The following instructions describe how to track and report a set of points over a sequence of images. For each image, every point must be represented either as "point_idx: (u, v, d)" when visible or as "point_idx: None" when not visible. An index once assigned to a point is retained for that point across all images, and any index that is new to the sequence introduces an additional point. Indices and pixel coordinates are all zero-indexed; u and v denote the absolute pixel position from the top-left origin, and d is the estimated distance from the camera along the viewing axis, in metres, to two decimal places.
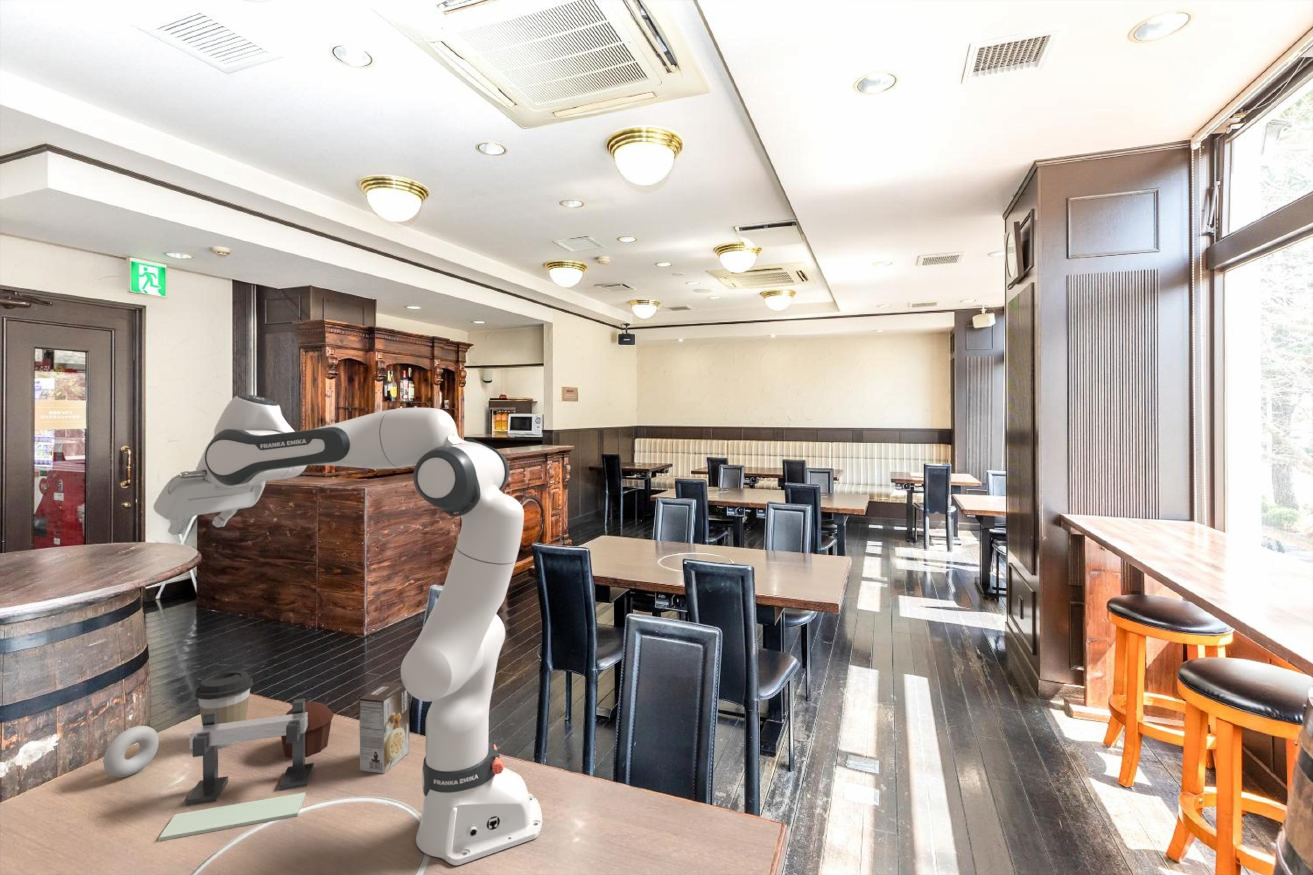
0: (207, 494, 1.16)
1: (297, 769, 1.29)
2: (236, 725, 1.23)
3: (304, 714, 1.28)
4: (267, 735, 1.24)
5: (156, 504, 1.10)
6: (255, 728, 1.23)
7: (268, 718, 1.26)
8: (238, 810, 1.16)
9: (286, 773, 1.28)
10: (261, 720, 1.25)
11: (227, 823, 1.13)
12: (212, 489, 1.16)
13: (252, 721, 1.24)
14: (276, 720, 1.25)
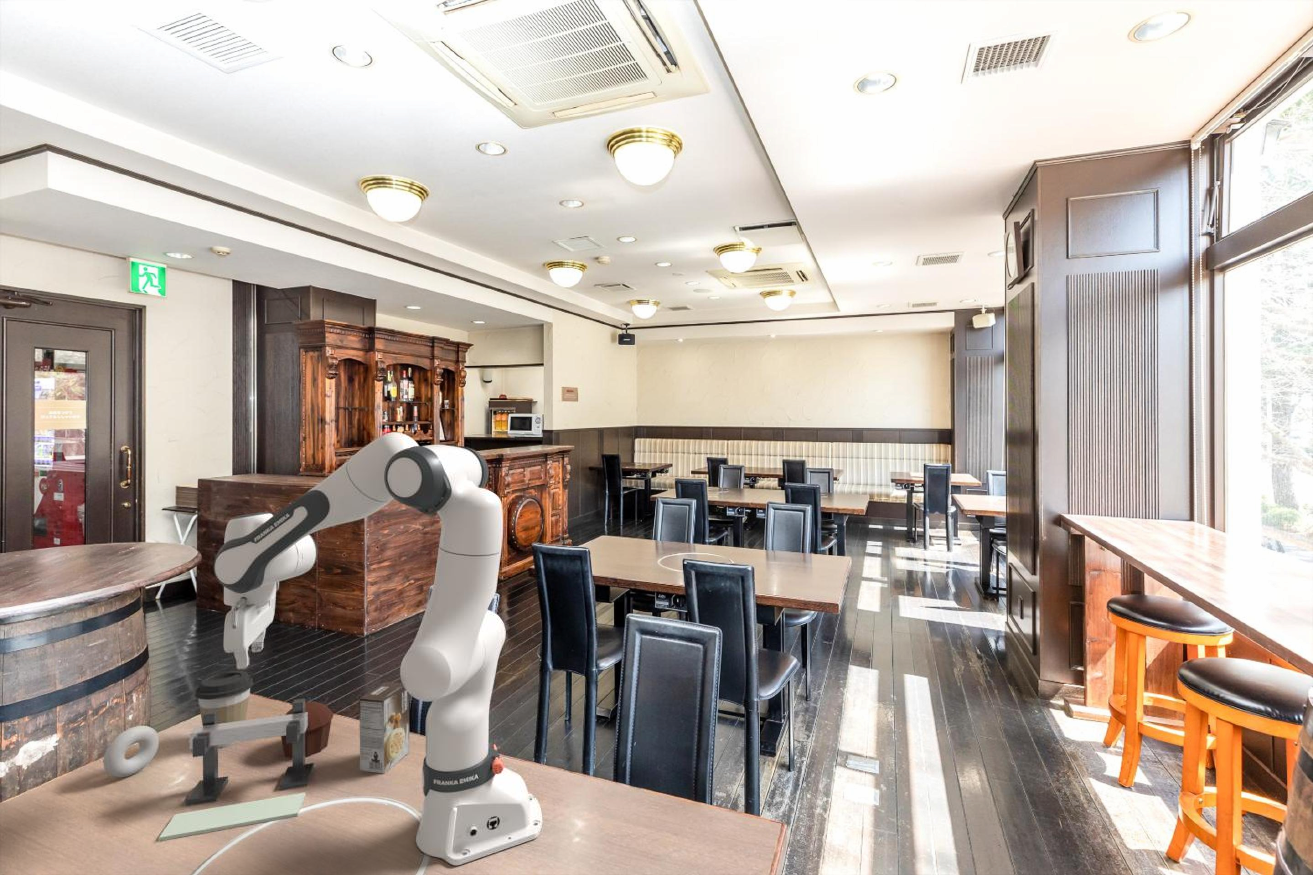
0: (254, 617, 1.21)
1: (297, 769, 1.29)
2: (236, 725, 1.23)
3: (304, 714, 1.28)
4: (267, 735, 1.24)
5: (227, 644, 1.14)
6: (255, 728, 1.23)
7: (268, 718, 1.26)
8: (238, 810, 1.16)
9: (286, 773, 1.28)
10: (261, 720, 1.25)
11: (227, 823, 1.13)
12: (256, 611, 1.22)
13: (252, 721, 1.24)
14: (276, 720, 1.25)
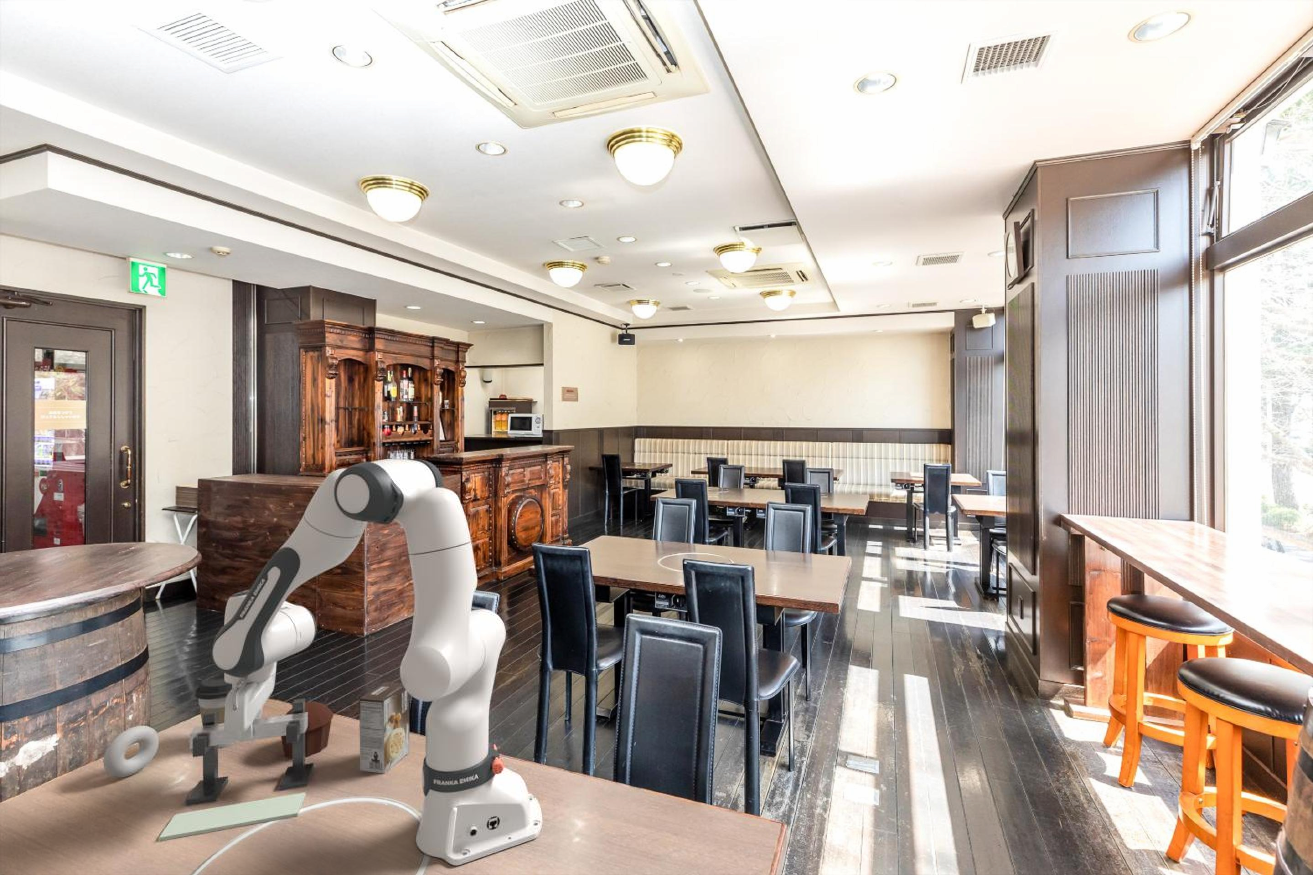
0: (254, 694, 1.21)
1: (297, 769, 1.29)
2: None
3: (304, 714, 1.28)
4: (267, 735, 1.24)
5: (227, 726, 1.14)
6: (255, 728, 1.23)
7: (268, 718, 1.26)
8: (238, 810, 1.16)
9: (286, 773, 1.28)
10: (261, 720, 1.25)
11: (227, 823, 1.13)
12: (256, 687, 1.22)
13: None
14: (276, 720, 1.25)
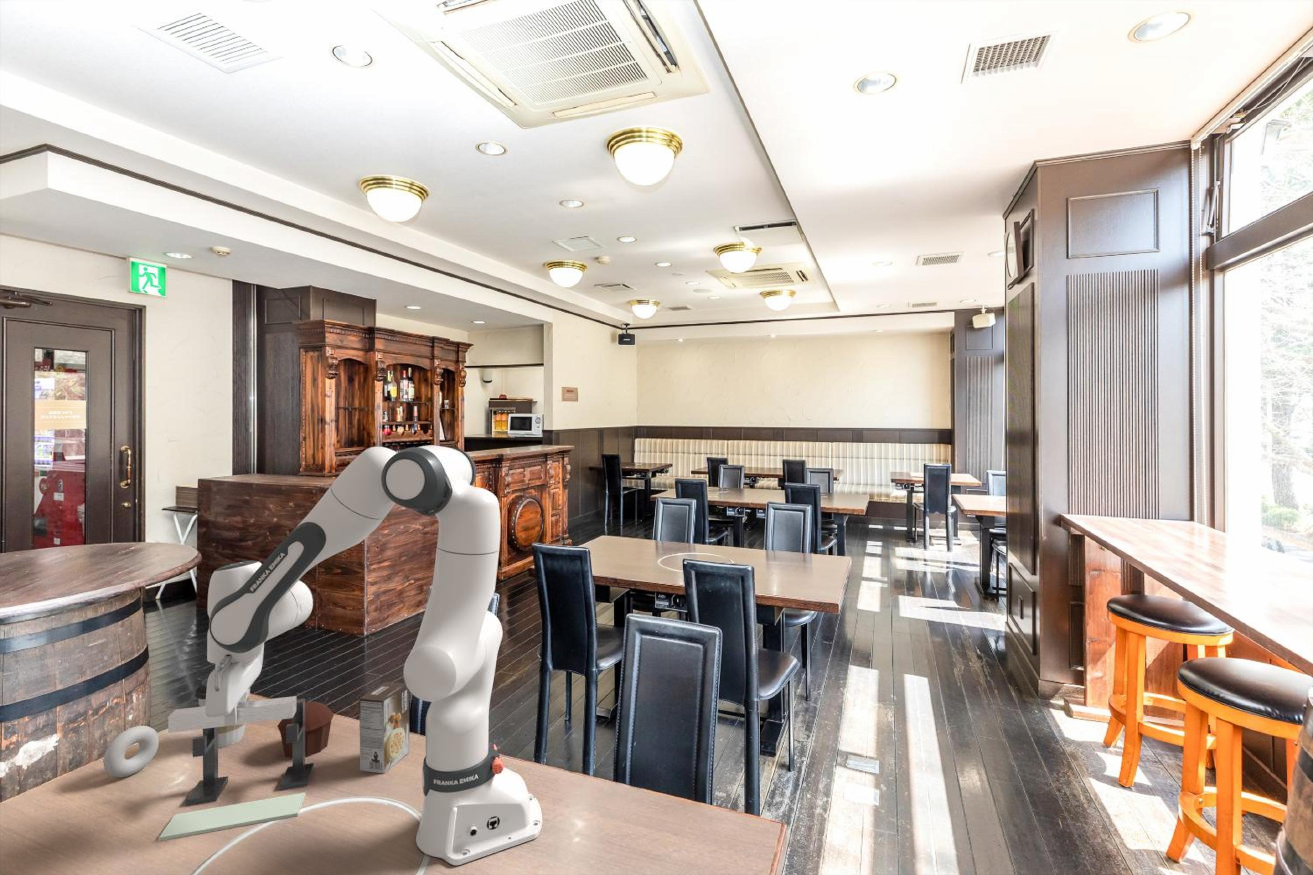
0: (239, 675, 1.13)
1: (297, 769, 1.29)
2: None
3: (292, 698, 1.19)
4: (252, 720, 1.15)
5: (209, 708, 1.06)
6: (239, 712, 1.14)
7: (254, 702, 1.17)
8: (238, 810, 1.16)
9: (286, 773, 1.28)
10: (246, 704, 1.16)
11: (227, 823, 1.13)
12: (241, 668, 1.13)
13: None
14: (262, 704, 1.16)
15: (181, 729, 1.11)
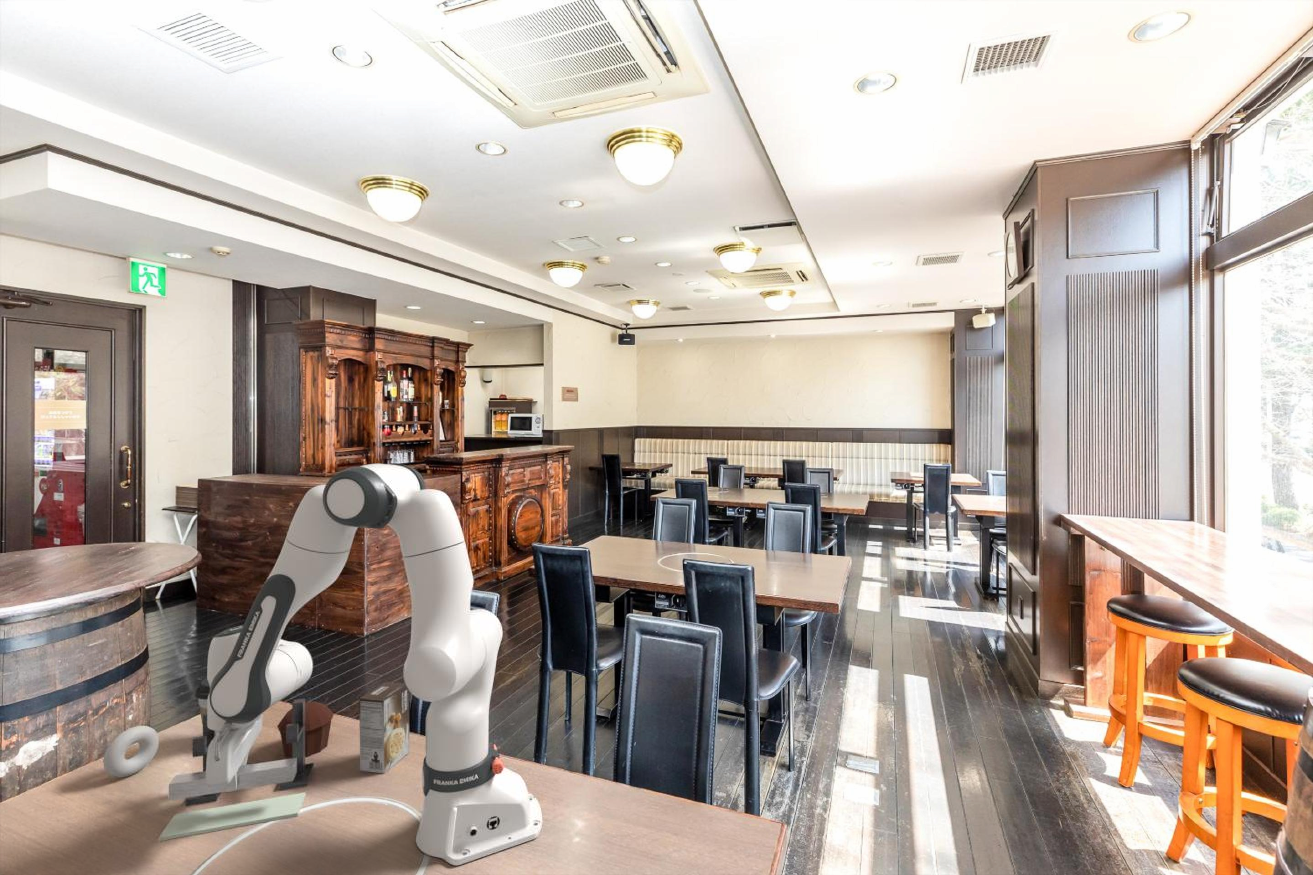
0: (239, 741, 1.13)
1: (297, 769, 1.29)
2: None
3: (293, 760, 1.19)
4: (252, 784, 1.15)
5: (209, 778, 1.06)
6: (239, 777, 1.14)
7: (254, 765, 1.17)
8: (238, 810, 1.16)
9: None
10: (246, 767, 1.16)
11: (227, 823, 1.13)
12: (241, 733, 1.13)
13: None
14: (262, 767, 1.16)
15: (181, 796, 1.12)
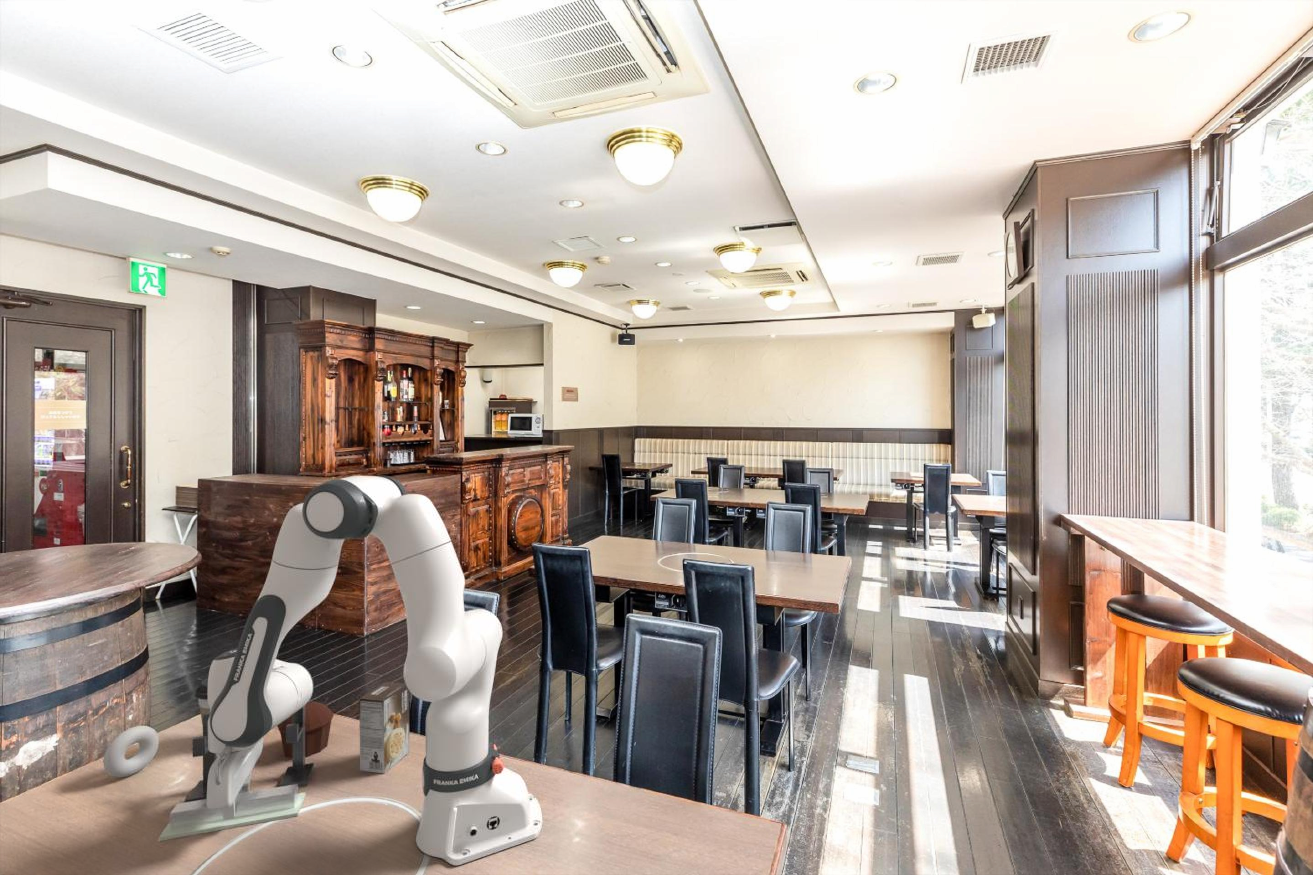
0: (240, 763, 1.13)
1: (297, 769, 1.29)
2: None
3: (294, 787, 1.19)
4: (254, 812, 1.15)
5: (210, 802, 1.06)
6: (241, 804, 1.15)
7: (255, 792, 1.17)
8: None
9: (286, 773, 1.28)
10: (248, 795, 1.16)
11: (227, 823, 1.13)
12: (242, 756, 1.13)
13: (238, 796, 1.16)
14: (264, 795, 1.17)
15: (183, 825, 1.12)
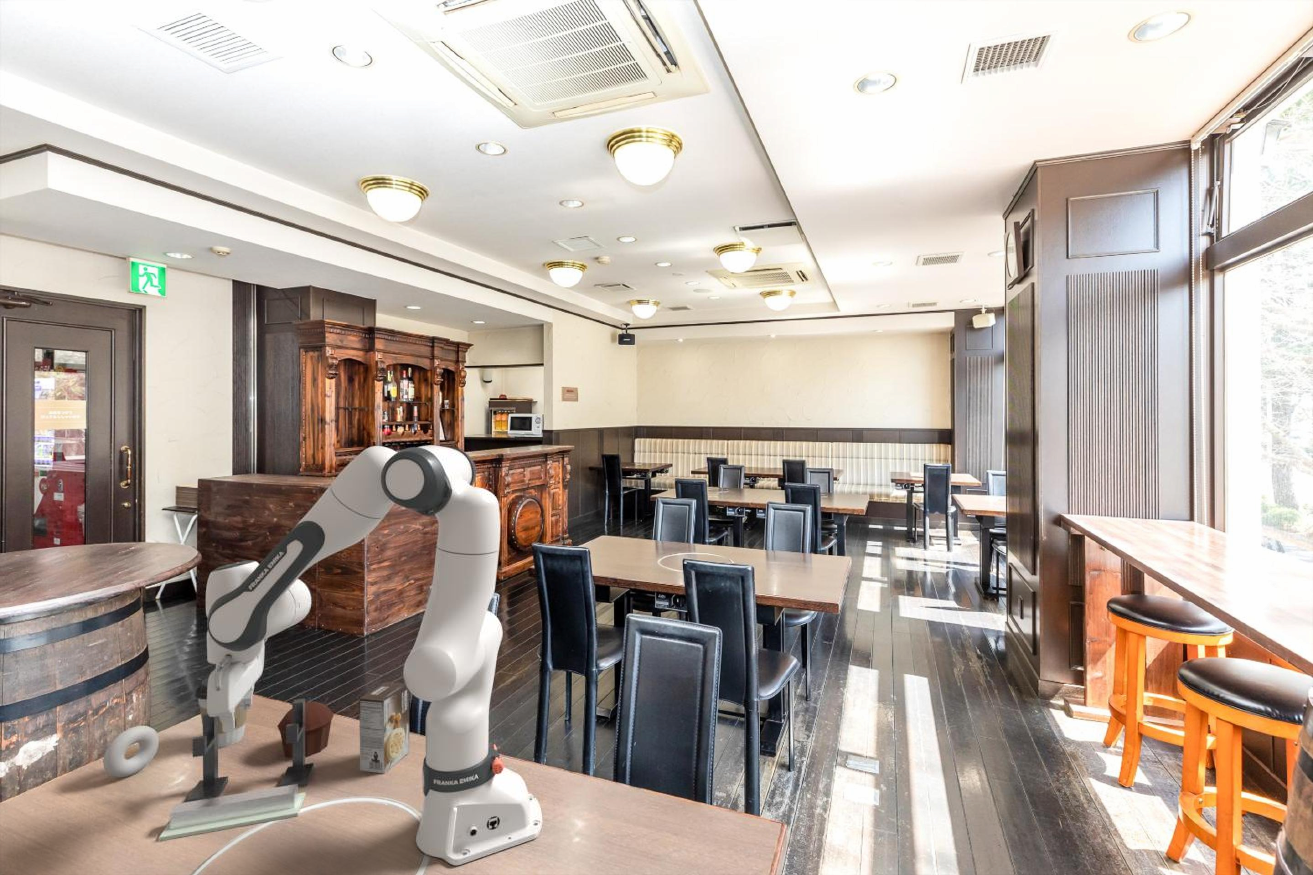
0: (240, 675, 1.13)
1: (297, 769, 1.29)
2: (220, 802, 1.14)
3: (294, 787, 1.19)
4: (254, 812, 1.15)
5: (210, 708, 1.05)
6: (241, 804, 1.15)
7: (255, 792, 1.17)
8: None
9: (286, 773, 1.28)
10: (248, 795, 1.16)
11: (227, 823, 1.13)
12: (242, 668, 1.13)
13: (238, 796, 1.16)
14: (264, 795, 1.17)
15: (183, 825, 1.12)
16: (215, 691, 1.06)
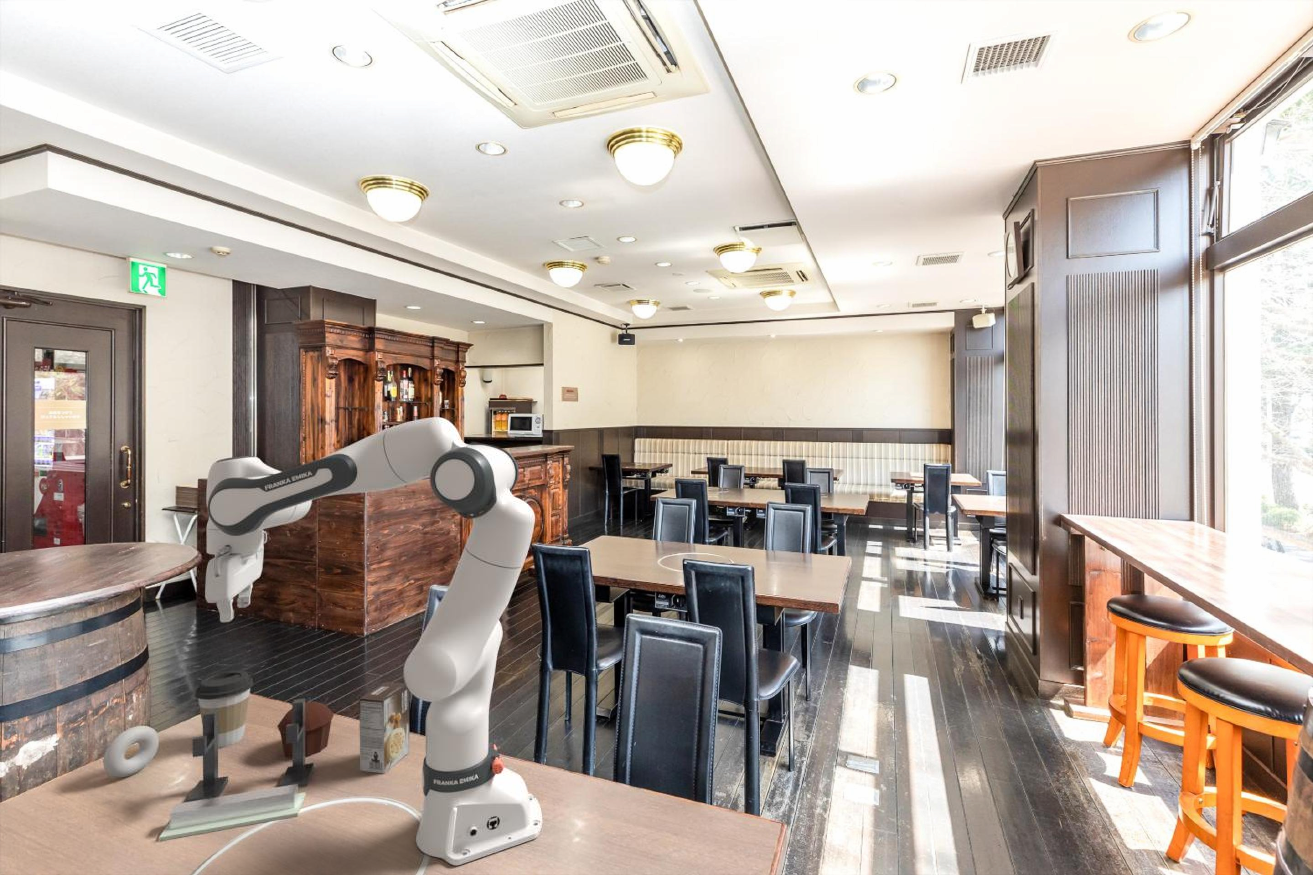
0: (239, 567, 1.13)
1: (297, 769, 1.29)
2: (220, 802, 1.14)
3: (294, 787, 1.19)
4: (254, 812, 1.15)
5: (209, 593, 1.05)
6: (241, 804, 1.15)
7: (255, 792, 1.17)
8: None
9: (286, 773, 1.28)
10: (248, 795, 1.16)
11: (227, 823, 1.13)
12: (241, 561, 1.13)
13: (238, 796, 1.16)
14: (264, 795, 1.17)
15: (183, 825, 1.12)
16: (214, 577, 1.06)
